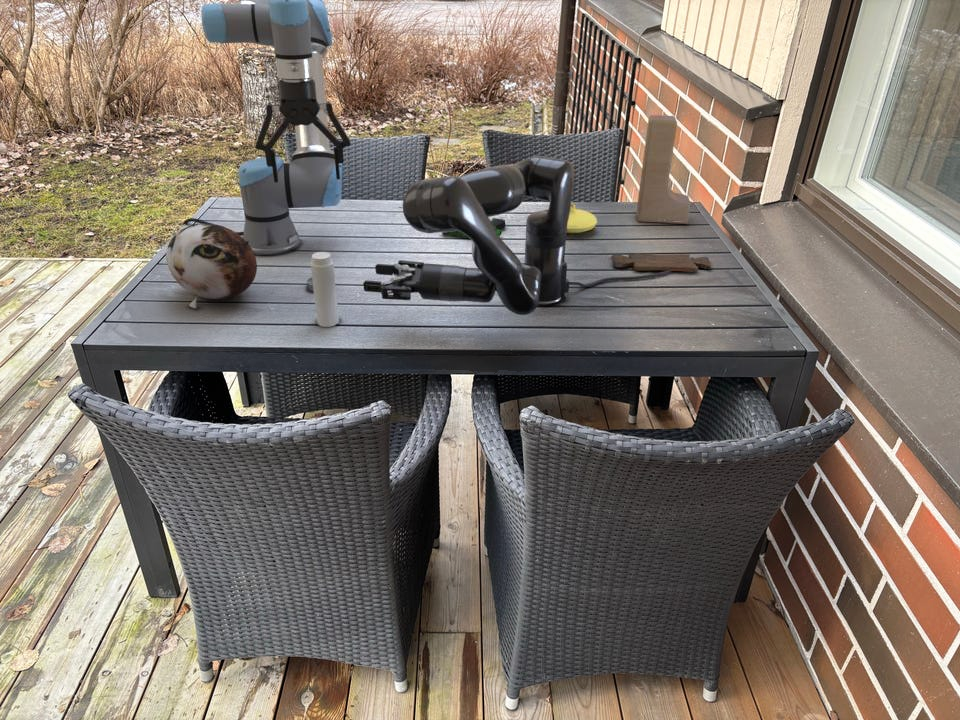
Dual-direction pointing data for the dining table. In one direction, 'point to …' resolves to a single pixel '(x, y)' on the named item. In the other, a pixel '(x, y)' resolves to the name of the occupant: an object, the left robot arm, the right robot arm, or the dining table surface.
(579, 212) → the yellow rounded piece
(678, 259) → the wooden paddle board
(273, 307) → the dining table surface
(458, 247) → the dining table surface
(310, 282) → the lid
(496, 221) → the handgun
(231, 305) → the dining table surface
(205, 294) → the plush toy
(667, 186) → the decorative block
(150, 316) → the dining table surface
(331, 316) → the jar
